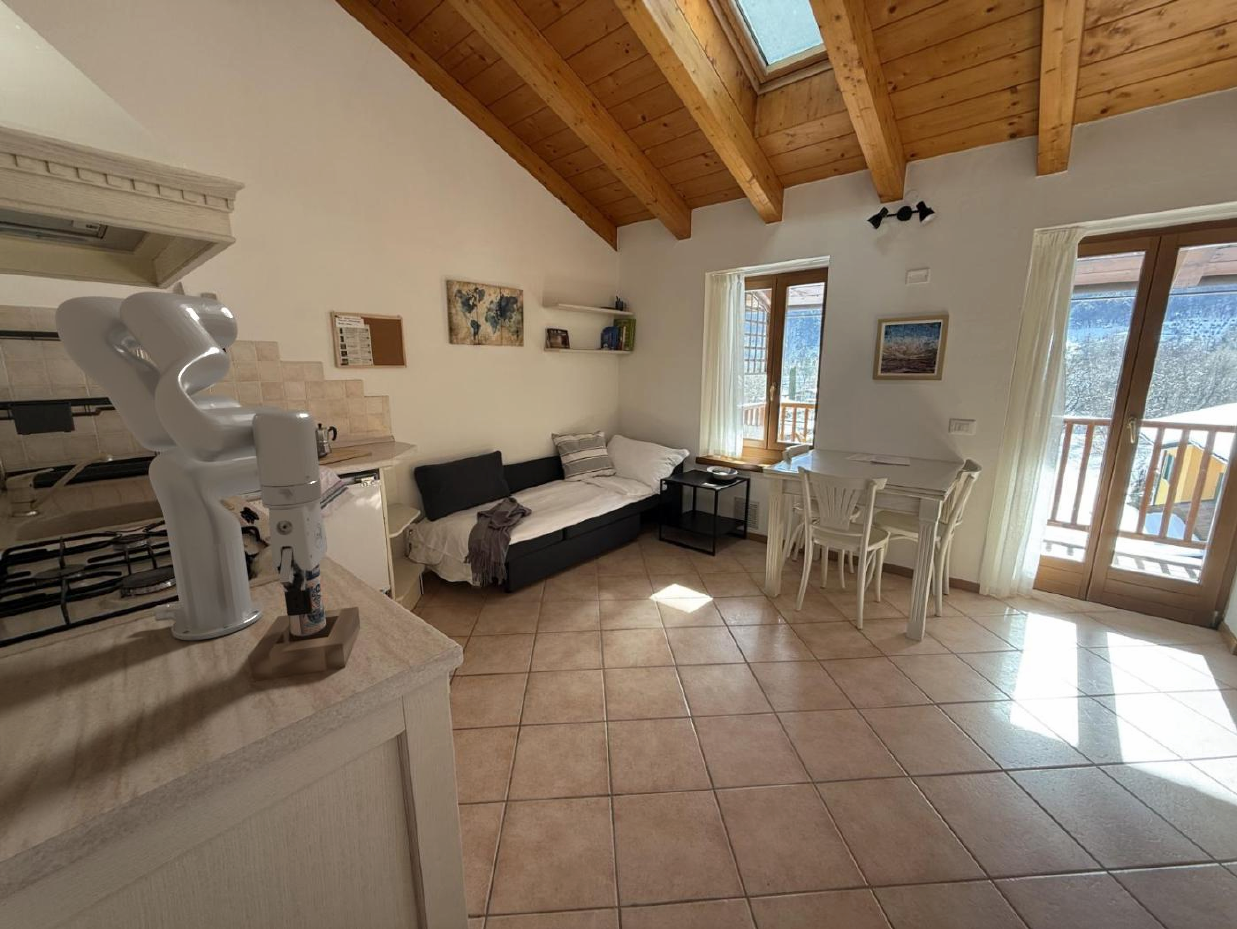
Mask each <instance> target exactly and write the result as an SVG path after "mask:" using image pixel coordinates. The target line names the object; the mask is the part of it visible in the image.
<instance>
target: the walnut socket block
mask: <svg viewBox="0 0 1237 929" xmlns="http://www.w3.org/2000/svg"><path fill="white" fill-rule="evenodd" d="M325 619H326V626H325V627H324V628H323V629H322V630H320V631H319V632H317V633H315V634H312V635H309V636H296V635H293V634H292V633H291V631H290V623H289V616H288V615H279V616H277V617H276V618H275V619H274V621H273V623H272V624H271V626H269V628H268V629H267V631H266V632H265V633H264V634H263V636H262V637H261V639H260V640H259V641H258V643H257V644H256V645H255V647H254V648H253V650H252V651H251V652H250V654H249V655H248V660H249V666H250V667H249V670H250V675H251V681H252V682H257V681H263V680H269V679H275V678H277V679H278V678H283V677H290V676H296V675H302V674H308V673H309V674H310V673H315V672H323V671H329V670H335V669H342V668H346V666H347V663H348V661H349V658H350V656H351V653H352V650H353V648H354V644H355V643H356V640H357V637H358V635H359V632H360V630H361V624H360V623H361V622H360V610H359V606H355V607H354V606H353V607H345V608H337V609H328V610H325Z"/></svg>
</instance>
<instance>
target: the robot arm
mask: <svg viewBox="0 0 1237 929" xmlns="http://www.w3.org/2000/svg"><path fill="white" fill-rule="evenodd" d="M54 321H55V322H54V323H55V327H56V331H57V335H58V337H59V340H60V342H61V344H62V346H63V348H64V349H65V350H64V351H66V353H67V354H68V357H69V358H70V359H71V360H72V361H73V362H74V363H75V365H76V366H77V367H78V368H79V369H80V370H81V371H82V372H83V373H84V374H85V375H86V376H87V377H89V379H91V381H92V382H94V383H96V385H97V386H98V387H99V388H100V389H101V390H102V391H103V392H104V394H105V395H106V397H107V398H108V399H109V401H110V403H111V404H112V406H113V407H114V409H115V410H116V412H117V413H118V415H119V417H120V418H121V420H123V422H124V424H125V426H126V427H127V429H128V430H129V431H130V433H131V434H132V436H133V437H134V438H135V440H136V442H138V443H139V444H140V445H141V446H142V447H143V448H145V449H146V450H149V451H152V452H158V453H159V452H160V454H158V455H156V456H155V457H154V458H153V459H152V461H151V462H150V464H149V468H148V477H149V481H150V484H151V487H152V489H153V491H154V494H155V496H156V499H157V501H158V504H159V505H160V509H161V511H162V512H161V513H162V515H163V518H164V523H165V527H166V533H167V539H168V545H169V549H170V556H171V559H172V566H173V572H174V578H175V584H176V590H177V594H178V602H177V603H174V604H171V603H167V604H161V605H156V606H155V607H154V610H153V614H154V615H153V616H154V620H155V621H156V622H162V621H167V620H172V621H174V623H173V624H172V626H171V634H172V636H173V637H174V638H176V639H177V640H181V641H182V640H183V641H201V640H202V641H204V640H208V639H209V640H210V639H214V638H218V637H223V636H225V635H229V634H233V633H235V632H238V631H240V630H242V629H244V628H247V627H248V626H250V625H252V624H254V623H255V622H257V621H258V620H259V619H260V618H261V617H262V616H263V614H264V606H263V604H262V603H261V602H259V601H256V600H252V597H251V590H250V584H249V583H250V582H249V576H248V569H247V568H248V567H247V562H246V553H245V547H244V541H243V540H244V539H243V534H242V527H241V523H240V520H239V519H238V517H237V516H236V515H235V513H233V511H231V510H229V509H228V508H227V507H226V506H224V505H223V503H222V502H221V500H223V499H227V498H231V497H234V496H235V497H236V496H239V495H244V494H249V493H254V492H257V491H258V492H259V491H260V494H261V495H260V496H261V502H262V507H263V508H264V509H268V524H269V540H270V551H271V559H272V565H273V566H272V567H273V569H274V572H275V573H276V574H278V575H279V583H280V584H281V585H282V586H283V587H282V588H283V590H282V591H283V592H284V599H285V600H284V601H285V607H286V614H287V615H288V616H295V615H303V614H310V613H311V612H312V601H311V593H310V588H307V571H312V570H313V569H314V568H315V567H316V566H317V564H318V563H319V564H320V562H321V560H322V559H323V558H324V556H325V555H326V553H327V552H328V541H327V536H326V529H325V522H324V517H323V516H324V515H323V513H322V512H323V511H322V507H321V503H320V502H322V500H323V495H322V494H323V493H322V482H321V476H320V463H319V457H318V456H319V455H318V447H317V437H316V436H317V435H316V428H315V427H316V426H315V420H314V417H313V416H312V414H311V413H310V412H308V411H307V410H303V409H284V408H282V407H278V406H273V405H260V406H259V405H256V406H242V404H240V402H238V401H237V400H235V399H233V398H232V397H230V396H227V395H224V394H216V393H207V394H204V393H202V394H200V392H203V391H205V390H207V389H210V388H211V387H214V386H215V385H217V384H219V383H220V382H221V381H222V380H223V379H224V378H225V377H226V376H227V374H228V373H229V371H230V368H231V361H230V360H231V359H230V358H229V355H228V354H227V352H225V350H223V349H227V348H230V347H231V346H232V345H233V344H234V343H235V342H236V340H237V337H238V331H239V329H238V323H237V320H236V318H235V316H234V315H233V313H232V311H231V310H230V309H229V308H228V307H227V306H226V305H225V304H223V303H222V302H220V301H218V300H217V299H214V298H210V297H205V296H204V297H203V296H197V295H196V296H195V295H186V294H179V293H171V292H162V291H140V292H137V293H133V294H131V295H129V296H127V297H126V298H123V297H116V296H115V297H113V296H97V295H95V296H89V295H88V296H78V297H72V298H69V299H66V300H64V301H63V302H62V303H60V304H59V305H58V307H57V308H56V310H55V316H54ZM131 351H144V352H145V353H146V354H147V355H148V357H149V358H150V359H151V360H152V361H153V363H154V364H153V363H152V362H150V361H149V360H147V359H145V358H143V357H142V356H139V355H137V354H135V353H133V352H131ZM198 393H199V394H198ZM294 566H299V567H300V568H301V569H296V570H293V567H294ZM293 574H300V580H299V579H298V577H297V578H295V577H294V575H293Z"/></svg>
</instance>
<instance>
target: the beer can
mask: <svg viewBox="0 0 1237 929" xmlns="http://www.w3.org/2000/svg"><path fill="white" fill-rule="evenodd" d="M320 567H321V566H320V562H319V563H318V564H317V566H316V567H315V568H314V569H313V570H312V571H307V588H310V593H311V601H312V612H311V613H310V614H303V615H295V616H289V623H290V631H291V633H292V634H293V635H296V636H309V635H312V634H315V633H317V632H319V631H320V630H322V629H323V628H324V627H325V626H326V619H325V611H326V610H325V603H324V593H323V583H322V576H321V568H320ZM296 569H301V568H300V567H299V566H294V567H293V570H296ZM293 575H294V577H295V578H297V577H298V579H299V580H300V574H293Z"/></svg>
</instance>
